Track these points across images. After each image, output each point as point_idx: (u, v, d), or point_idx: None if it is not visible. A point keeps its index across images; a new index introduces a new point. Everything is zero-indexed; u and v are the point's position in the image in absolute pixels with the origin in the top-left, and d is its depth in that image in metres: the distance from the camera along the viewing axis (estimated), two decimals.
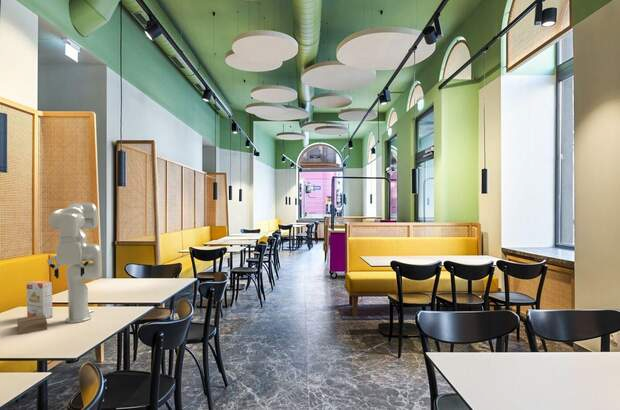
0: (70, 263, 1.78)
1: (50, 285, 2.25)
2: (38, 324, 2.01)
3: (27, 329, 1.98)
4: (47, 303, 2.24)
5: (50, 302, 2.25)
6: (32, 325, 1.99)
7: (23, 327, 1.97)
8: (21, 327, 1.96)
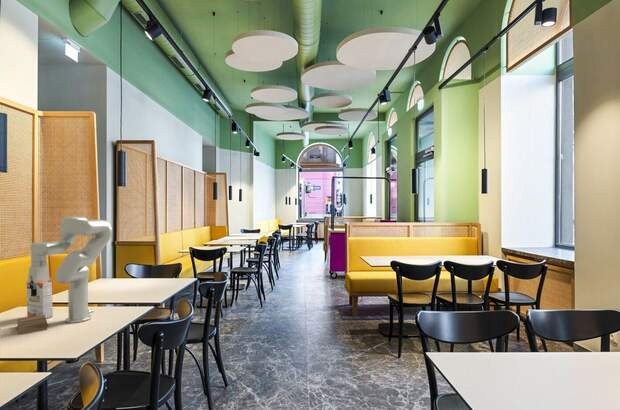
0: (42, 281, 2.26)
1: (50, 285, 2.25)
2: (38, 324, 2.01)
3: (27, 329, 1.98)
4: (47, 303, 2.24)
5: (50, 302, 2.25)
6: (32, 325, 1.99)
7: (23, 327, 1.97)
8: (21, 327, 1.96)
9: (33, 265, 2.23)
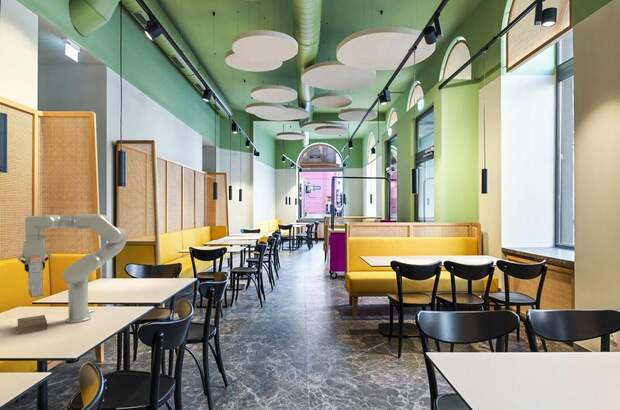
0: (36, 257, 2.14)
1: (40, 262, 2.11)
2: (38, 324, 2.01)
3: (27, 329, 1.98)
4: (37, 280, 2.09)
5: (40, 279, 2.10)
6: (32, 325, 1.99)
7: (23, 327, 1.97)
8: (21, 327, 1.96)
9: (26, 239, 2.12)
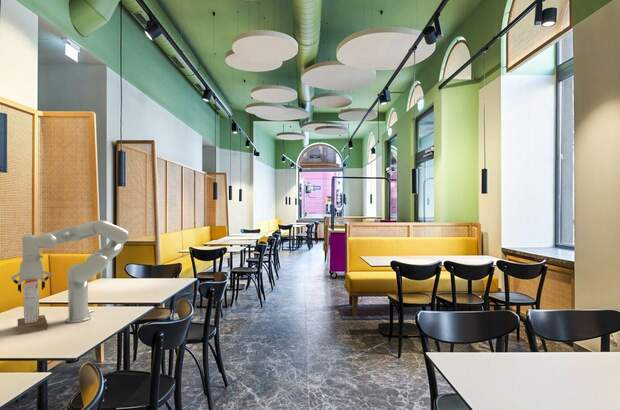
0: (32, 278, 2.05)
1: (34, 287, 2.01)
2: (38, 324, 2.01)
3: (27, 329, 1.98)
4: (30, 306, 2.00)
5: (34, 305, 2.01)
6: (32, 325, 1.99)
7: (23, 327, 1.97)
8: (21, 327, 1.96)
9: (22, 260, 2.04)
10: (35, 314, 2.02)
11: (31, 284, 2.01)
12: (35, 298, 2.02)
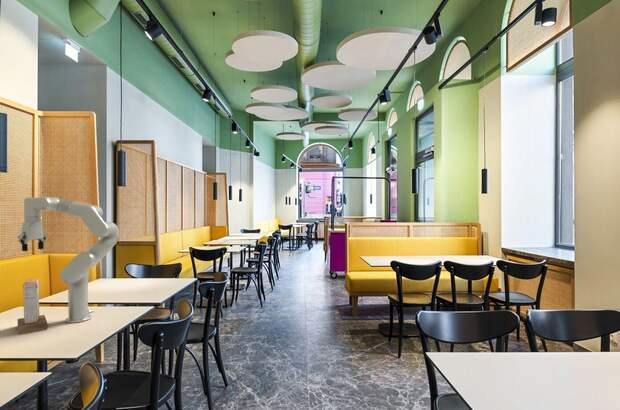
0: (36, 238, 2.17)
1: (34, 287, 2.01)
2: (38, 324, 2.01)
3: (27, 329, 1.98)
4: (30, 306, 2.00)
5: (34, 305, 2.01)
6: (32, 325, 1.99)
7: (23, 327, 1.97)
8: (21, 327, 1.96)
9: (26, 220, 2.14)
10: (35, 314, 2.02)
11: (31, 284, 2.01)
12: (35, 298, 2.02)
